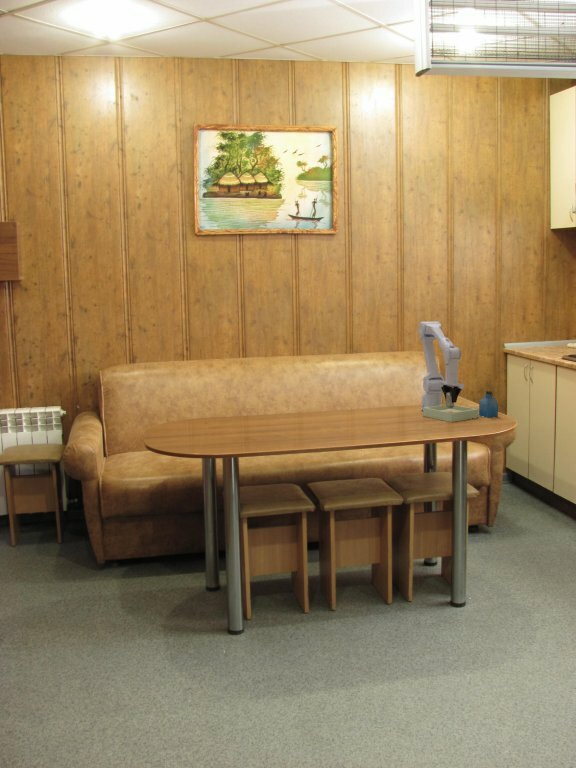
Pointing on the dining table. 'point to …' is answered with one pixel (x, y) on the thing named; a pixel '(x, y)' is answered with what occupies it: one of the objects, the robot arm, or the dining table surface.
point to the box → (450, 413)
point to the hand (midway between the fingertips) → (450, 401)
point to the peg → (449, 400)
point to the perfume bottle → (488, 406)
